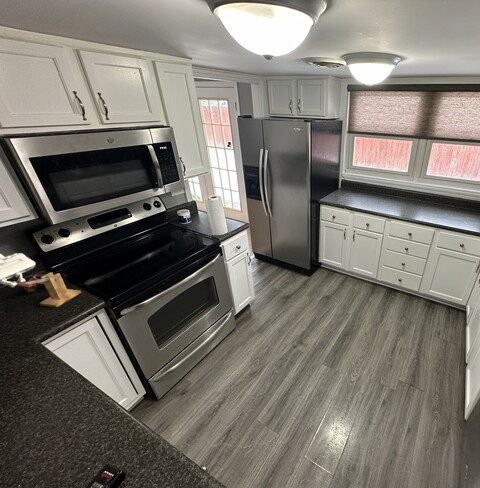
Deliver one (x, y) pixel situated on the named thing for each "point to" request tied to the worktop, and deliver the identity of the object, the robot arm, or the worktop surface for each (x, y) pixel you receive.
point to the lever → (29, 284)
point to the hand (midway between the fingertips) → (19, 284)
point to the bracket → (57, 291)
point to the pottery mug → (32, 289)
